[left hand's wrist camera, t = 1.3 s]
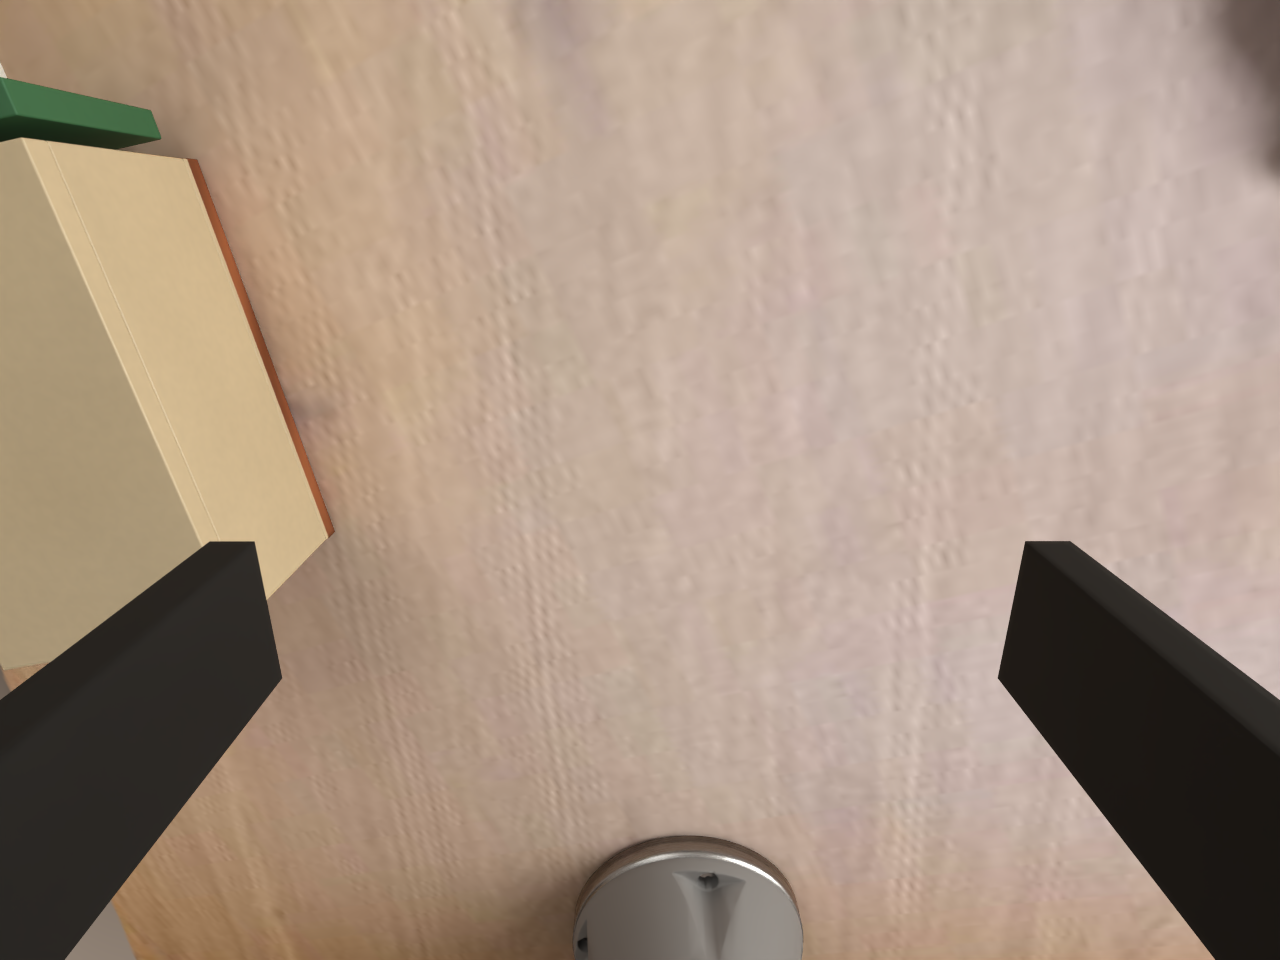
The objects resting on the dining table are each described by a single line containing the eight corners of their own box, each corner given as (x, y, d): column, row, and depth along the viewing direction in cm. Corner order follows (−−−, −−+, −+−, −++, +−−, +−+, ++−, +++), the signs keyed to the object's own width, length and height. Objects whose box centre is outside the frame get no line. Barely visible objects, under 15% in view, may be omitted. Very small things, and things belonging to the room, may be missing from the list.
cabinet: (-17, 207, 34) (-270, 203, 25) (197, 159, 33) (21, 136, 24) (152, 565, 40) (3, 671, 31) (334, 531, 40) (239, 629, 30)
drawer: (-121, 1, 30) (-371, -71, 23) (90, -51, 30) (-96, -143, 22) (123, 514, 38) (-4, 586, 31) (293, 481, 38) (207, 546, 30)
